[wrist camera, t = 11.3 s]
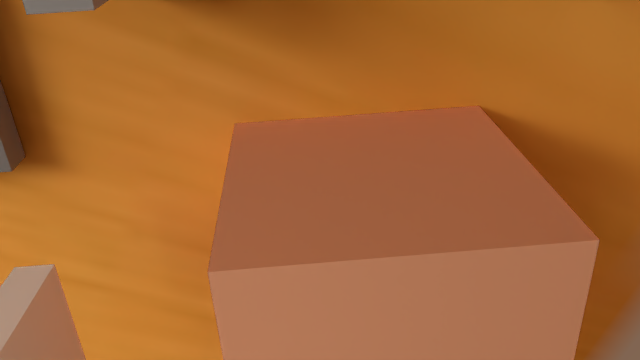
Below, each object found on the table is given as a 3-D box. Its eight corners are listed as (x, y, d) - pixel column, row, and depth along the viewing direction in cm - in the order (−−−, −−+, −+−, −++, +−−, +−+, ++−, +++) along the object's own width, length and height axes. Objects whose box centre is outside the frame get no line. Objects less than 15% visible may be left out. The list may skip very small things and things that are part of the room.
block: (260, 312, 17) (251, 513, 11) (234, 122, 14) (207, 272, 8) (462, 295, 17) (546, 486, 11) (477, 104, 14) (599, 240, 9)
